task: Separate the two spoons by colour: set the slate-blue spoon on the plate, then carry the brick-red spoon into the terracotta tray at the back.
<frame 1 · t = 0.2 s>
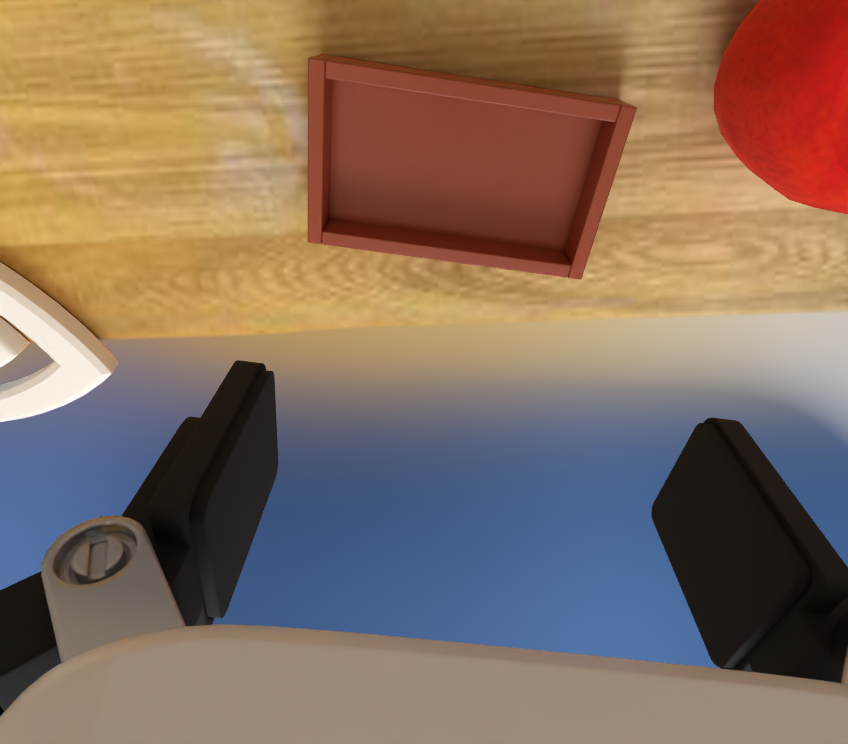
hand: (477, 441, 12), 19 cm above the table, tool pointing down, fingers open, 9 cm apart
decorative sculpture: (103, 376, 31), point 2 cm above the table
tray: (458, 167, 26), on the table
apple: (768, 57, 23), on the table
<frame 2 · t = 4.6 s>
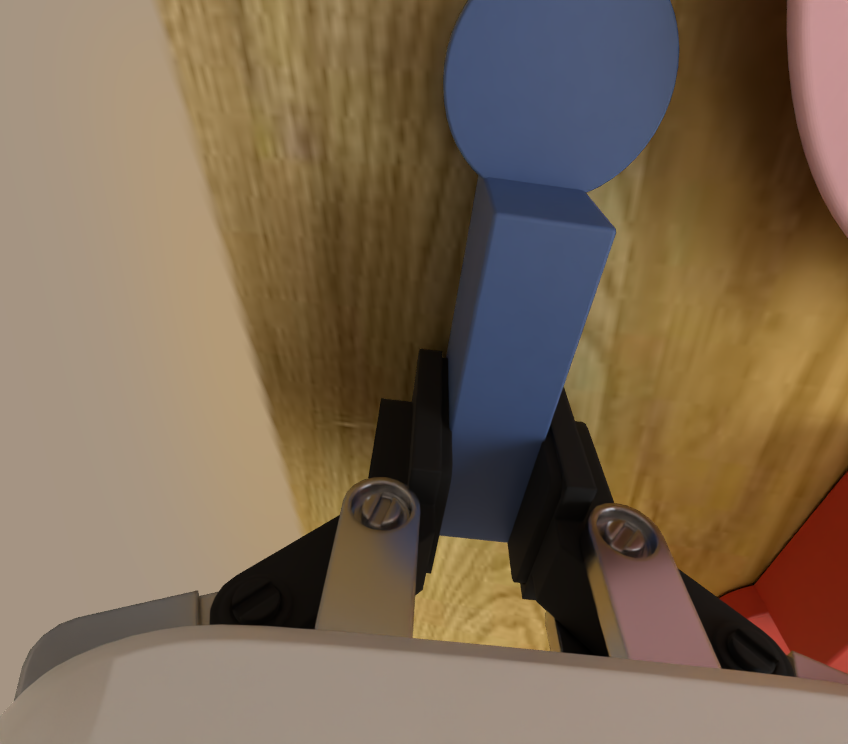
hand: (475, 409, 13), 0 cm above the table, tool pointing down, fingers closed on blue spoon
red spoon: (841, 515, 15), on the table
blue spoon: (490, 330, 12), on the table, touching gripper
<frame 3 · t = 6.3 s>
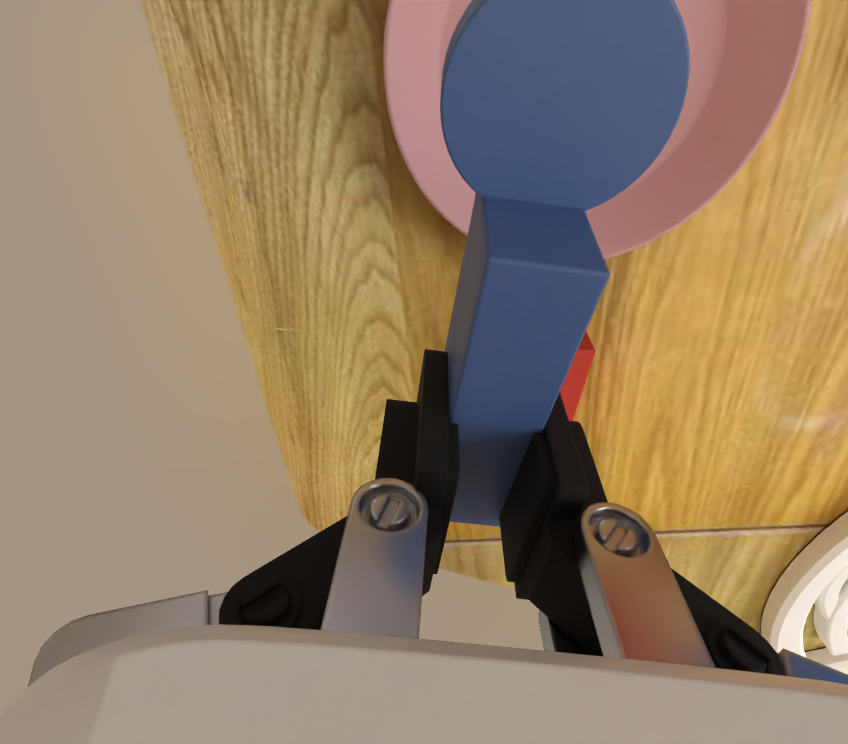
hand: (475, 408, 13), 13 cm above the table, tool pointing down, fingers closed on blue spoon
red spoon: (547, 375, 28), on the table
plate: (574, 66, 20), on the table
blue spoon: (488, 327, 12), point 13 cm above the table, tilted 9°, touching gripper
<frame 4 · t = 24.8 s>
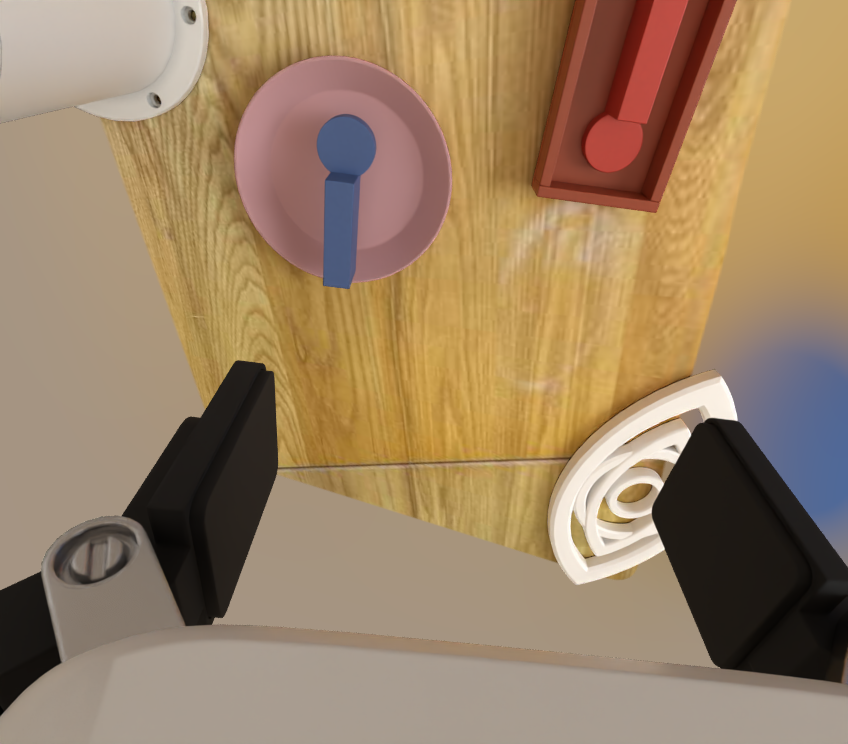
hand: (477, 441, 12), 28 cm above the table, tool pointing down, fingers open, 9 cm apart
red spoon: (637, 49, 31), point 1 cm above the table, touching tray
plate: (348, 174, 36), on the table, touching blue spoon
decorative sculpture: (721, 381, 42), point 2 cm above the table
tray: (621, 79, 32), on the table
blue spoon: (345, 222, 36), point 2 cm above the table, touching plate
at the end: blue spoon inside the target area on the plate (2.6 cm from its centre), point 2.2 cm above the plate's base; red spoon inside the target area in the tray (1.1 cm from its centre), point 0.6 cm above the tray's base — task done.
